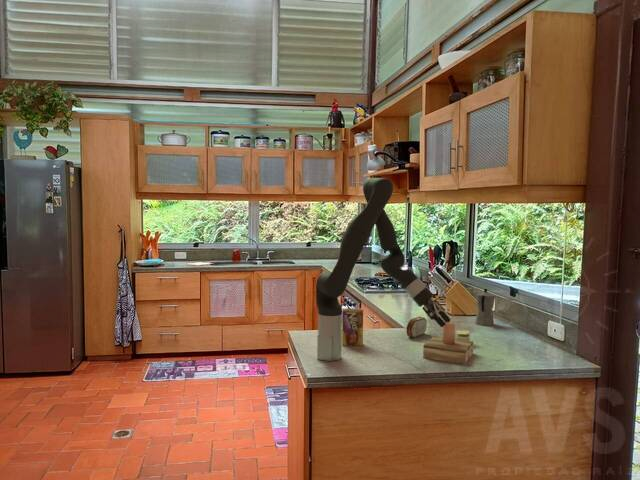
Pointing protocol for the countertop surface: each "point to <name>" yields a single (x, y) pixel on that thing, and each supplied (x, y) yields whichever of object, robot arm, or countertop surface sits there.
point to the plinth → (448, 350)
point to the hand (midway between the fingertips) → (446, 323)
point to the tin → (416, 327)
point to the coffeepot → (485, 308)
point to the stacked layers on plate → (462, 335)
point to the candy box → (352, 326)
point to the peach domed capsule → (449, 333)
